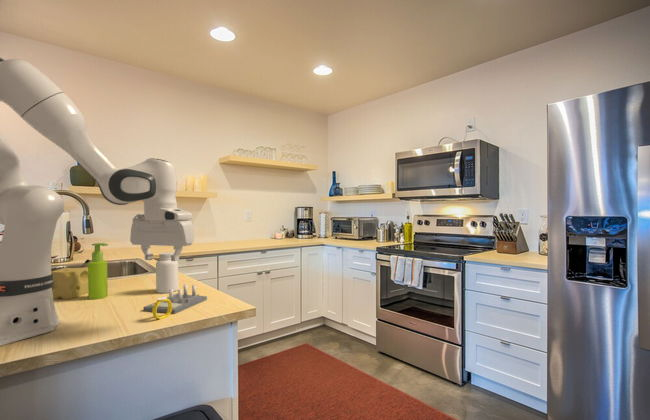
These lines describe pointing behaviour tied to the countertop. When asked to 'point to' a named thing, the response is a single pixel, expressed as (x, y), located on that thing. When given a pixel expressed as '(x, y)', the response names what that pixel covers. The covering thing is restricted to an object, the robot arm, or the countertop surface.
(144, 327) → the countertop surface
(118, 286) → the countertop surface
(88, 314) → the countertop surface
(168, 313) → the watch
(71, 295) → the cheese
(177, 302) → the gray pegged board
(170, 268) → the pill bottle
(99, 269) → the soap dispenser
